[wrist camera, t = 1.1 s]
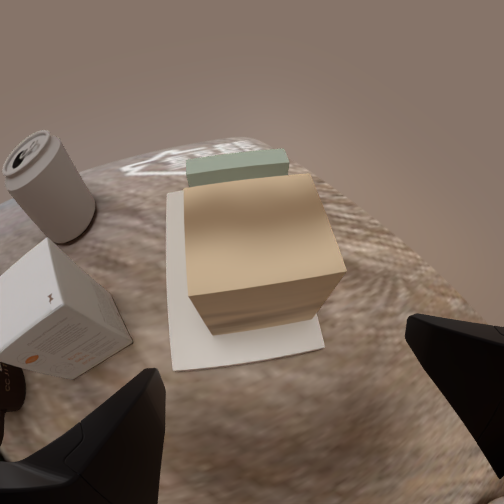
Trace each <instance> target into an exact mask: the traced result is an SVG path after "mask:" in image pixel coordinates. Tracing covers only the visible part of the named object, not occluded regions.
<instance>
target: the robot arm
mask: <svg viewBox="0 0 504 504" xmlns="http://www.w3.org/2000/svg"><path fill="white" fill-rule="evenodd" d="M405 339H406V342H407V343H408V345H409V346H410V348H411V349H412V351H413V353H414V354H415V356H416V357H417V359H418V361H419V362H420V364H421V365H422V367H423V369H424V370H425V371H426V373H427V374H428V375H429V377H430V378H431V379H432V380H433V382H434V383H435V384H436V386H437V387H438V388H439V390H440V391H441V392H442V394H443V395H444V397H445V398H446V399H447V401H448V402H449V403H450V405H451V406H452V408H453V409H454V410H455V412H456V413H457V415H458V416H459V417H460V419H461V420H462V422H463V423H464V425H465V426H466V428H467V429H468V430H469V432H470V433H471V435H472V436H473V438H474V439H475V441H476V442H477V444H478V446H479V447H480V449H481V451H482V452H483V454H484V455H485V457H486V458H487V460H488V462H489V463H490V465H491V467H492V468H493V470H494V472H495V473H496V475H497V477H498V478H499V479H501V478H502V477H503V476H504V327H499V326H492V325H486V324H479V323H472V322H466V321H460V320H454V319H447V318H441V317H436V316H430V315H424V314H418V313H417V314H414V315H411V316H409V317H408V319H407V324H406V331H405ZM165 399H166V391H165V386H164V384H163V381H162V379H161V376H160V374H159V371H158V370H157V369H156V368H146V369H144V370H143V371H142V372H140V373H139V374H138V375H137V376H136V377H134V378H133V379H132V380H131V381H129V382H128V383H127V384H126V385H125V386H123V387H122V388H121V389H120V390H119V391H117V392H116V393H115V394H114V395H112V396H111V397H110V398H109V399H108V400H106V401H105V402H104V403H103V404H101V405H100V406H99V407H98V408H96V409H95V410H94V411H93V412H91V413H90V414H89V415H88V416H86V417H85V418H84V419H83V420H81V423H80V422H79V423H78V424H76V425H75V426H74V427H73V428H71V429H70V430H69V431H67V432H66V433H65V434H63V435H62V436H60V437H59V438H57V439H56V440H54V441H53V442H51V443H50V444H48V445H47V446H45V447H43V448H42V449H40V450H39V451H37V452H35V453H34V454H32V455H30V456H29V457H27V458H25V459H23V460H21V461H17V462H0V504H158V491H159V480H160V470H161V460H162V452H163V443H164V435H165Z"/></svg>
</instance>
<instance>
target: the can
mask: <svg viewBox="0 0 504 504" xmlns="http://www.w3.org/2000/svg"><path fill="white" fill-rule="evenodd" d="M2 172H3V175H4V176H6V179H5V187H6V189H7V190H8V191H9V193H10V194H11V196H12V197H13V198H14V199H15V200H16V202H17V203H18V204H19V205H20V207H21V208H22V209H23V210H24V211H25V212H26V214H27V215H28V216H29V217H30V218H31V219H32V220H33V222H34V223H35V224H36V225H37V226H38V227H39V228H40V229H41V230H42V231H43V233H44V234H45V235H46V236H47V237H48V238H49V239H50V240H51V241H53V242H55V243H65V242H67V241H70V240H73V239H75V238H76V237H78V236H79V235H81V234H82V233H83V232H84V231H85V229H86V228H87V227H88V225H89V223H90V222H91V219H92V217H93V214H94V211H95V201H94V198H93V196H92V194H91V193H90V191H89V190H88V188H87V186H86V185H85V183H84V181H83V180H82V178H81V176H80V174H79V173H78V171H77V169H76V167H75V166H74V164H73V162H72V160H71V159H70V157H69V155H68V153H67V151H66V149H65V148H64V146H63V144H62V142H61V140H60V138H58V137H57V136H52V135H50V132H49V131H47V130H41V131H38V132H35V133H34V134H32V135H30V136H28V137H27V138H26V139H24V140H23V141H22V142H21V143H20V144H19V145H18V146H17V147H16V148H15V149H14V150H13V151H12V152H11V153H10V155H9V156H8V158H7V159H6V161H5V163H4V165H3V170H2Z"/></svg>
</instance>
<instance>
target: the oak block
mask: <svg viewBox="0 0 504 504" xmlns="http://www.w3.org/2000/svg"><path fill="white" fill-rule="evenodd" d="M184 232H185V255H186V273H187V287H188V297H189V298H190V300H191V302H192V303H193V305H194V307H195V308H196V310H197V312H198V313H199V315H200V317H201V318H202V320H203V321H204V323H205V325H206V326H207V328H208V329H209V331H210V332H211V334H212V335H213V336H214V335H222V334H229V333H236V332H243V331H249V330H256V329H262V328H268V327H274V326H279V325H285V324H290V323H295V322H301V321H306V320H310V319H312V318H313V317H314V316H315V314H316V313H317V312H318V310H319V309H320V308H321V306H322V305H323V304H324V302H325V301H326V300H327V298H328V297H329V296H330V294H331V293H332V291H333V290H334V289H335V287H336V286H337V284H338V283H339V282H340V280H341V279H342V277H343V276H344V274H345V273H346V272H347V270H346V267H345V264H344V261H343V258H342V256H341V253H340V250H339V247H338V244H337V241H336V239H335V236H334V233H333V231H332V228H331V225H330V223H329V220H328V217H327V215H326V212H325V210H324V207H323V205H322V202H321V200H320V197H319V195H318V192H317V190H316V187H315V185H314V183H313V180H312V178H311V175H310V173H309V174H296V175H284V176H274V177H264V178H255V179H246V180H238V181H230V182H222V183H215V184H208V185H202V186H195V187H189V188H184Z"/></svg>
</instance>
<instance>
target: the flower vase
mask: <svg viewBox="0 0 504 504" xmlns="http://www.w3.org/2000/svg"><path fill="white" fill-rule="evenodd" d="M487 504H504V496H502V497H499V498H496V499H494V500H492V501H491V502H489V503H487Z"/></svg>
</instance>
